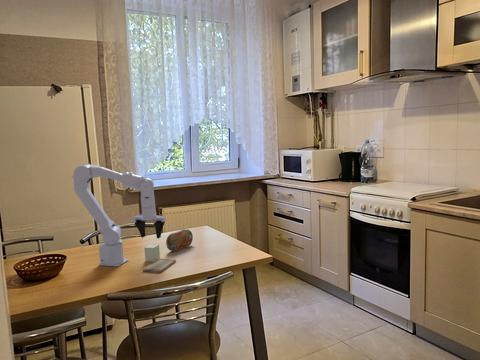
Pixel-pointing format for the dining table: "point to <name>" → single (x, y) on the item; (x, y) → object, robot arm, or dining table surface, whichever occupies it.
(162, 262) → the board
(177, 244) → the tin
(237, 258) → the dining table surface
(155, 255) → the block
